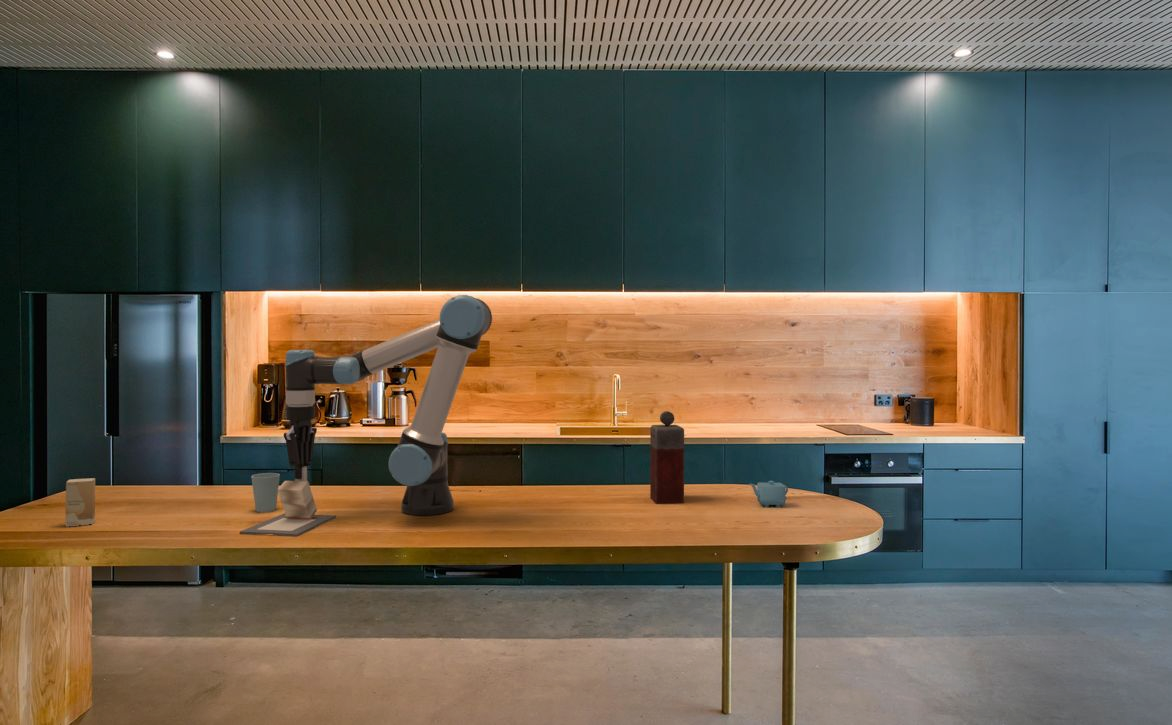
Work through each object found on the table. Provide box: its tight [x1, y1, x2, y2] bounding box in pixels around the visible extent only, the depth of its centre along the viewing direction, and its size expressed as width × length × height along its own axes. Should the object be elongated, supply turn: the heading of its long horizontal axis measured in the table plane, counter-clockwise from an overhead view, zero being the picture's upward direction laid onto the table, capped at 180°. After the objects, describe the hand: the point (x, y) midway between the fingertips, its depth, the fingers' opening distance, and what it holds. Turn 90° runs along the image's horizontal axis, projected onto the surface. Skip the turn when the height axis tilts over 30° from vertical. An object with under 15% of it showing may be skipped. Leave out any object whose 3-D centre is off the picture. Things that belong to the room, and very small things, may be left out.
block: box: [277, 480, 318, 520], centre depth 197 cm, size 7×4×10 cm, turn 81°
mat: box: [239, 512, 337, 537], centre depth 194 cm, size 16×20×1 cm
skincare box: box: [65, 477, 96, 528], centre depth 195 cm, size 6×4×12 cm
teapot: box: [748, 480, 789, 508], centre depth 217 cm, size 12×6×8 cm, turn 88°
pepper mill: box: [649, 410, 685, 505], centre depth 225 cm, size 9×11×28 cm
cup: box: [251, 472, 281, 513], centre depth 211 cm, size 8×8×10 cm
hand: (301, 489), depth 199 cm, fingers closed
